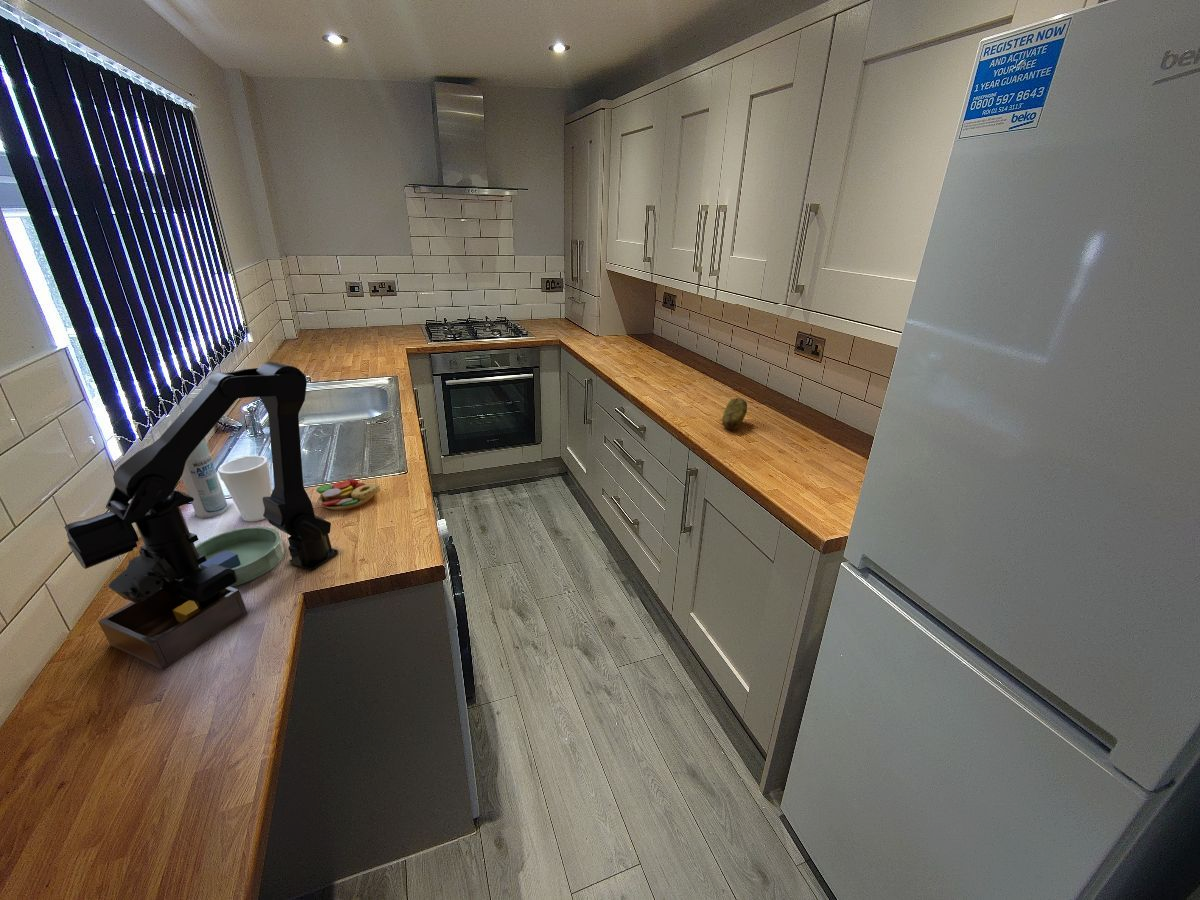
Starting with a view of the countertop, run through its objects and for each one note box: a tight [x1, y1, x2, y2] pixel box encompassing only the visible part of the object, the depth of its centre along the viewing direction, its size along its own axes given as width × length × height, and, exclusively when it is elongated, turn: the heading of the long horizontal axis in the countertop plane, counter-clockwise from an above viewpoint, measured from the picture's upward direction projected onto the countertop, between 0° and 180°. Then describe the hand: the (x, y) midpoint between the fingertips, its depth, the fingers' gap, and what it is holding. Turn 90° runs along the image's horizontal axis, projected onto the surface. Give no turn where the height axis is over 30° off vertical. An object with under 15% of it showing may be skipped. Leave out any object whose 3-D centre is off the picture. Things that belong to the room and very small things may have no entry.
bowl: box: [195, 526, 285, 588], centre depth 104 cm, size 16×16×4 cm
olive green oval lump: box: [721, 397, 748, 431], centre depth 168 cm, size 8×13×8 cm, turn 139°
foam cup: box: [217, 454, 273, 522], centre depth 119 cm, size 10×9×13 cm
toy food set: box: [316, 478, 381, 511], centre depth 127 cm, size 13×13×3 cm
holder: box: [97, 586, 248, 671], centre depth 87 cm, size 14×14×5 cm
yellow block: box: [173, 600, 200, 622], centre depth 90 cm, size 5×4×2 cm
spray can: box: [181, 437, 228, 519], centre depth 120 cm, size 6×6×20 cm
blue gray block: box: [200, 550, 241, 569], centre depth 101 cm, size 5×4×2 cm
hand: (198, 612), depth 90 cm, fingers open, 6 cm apart
